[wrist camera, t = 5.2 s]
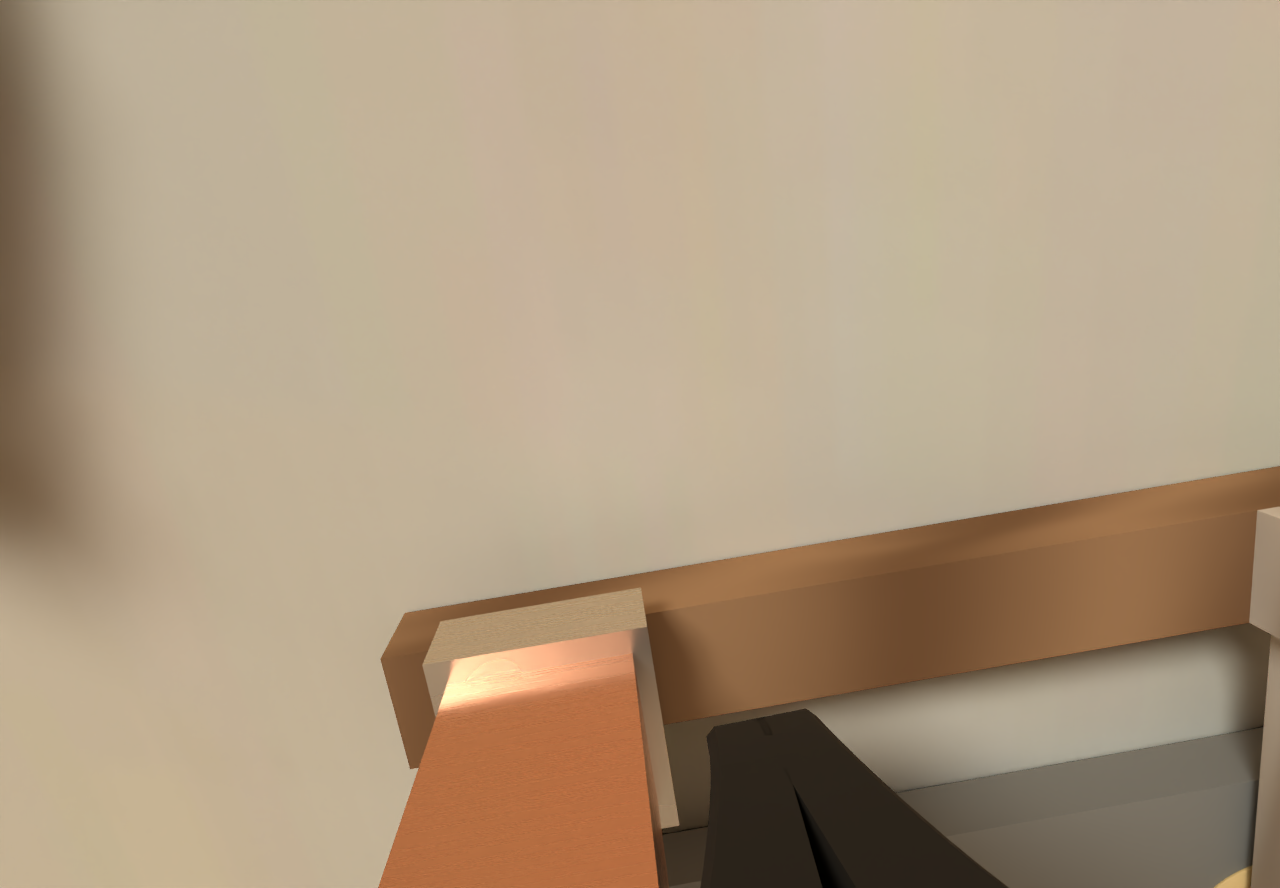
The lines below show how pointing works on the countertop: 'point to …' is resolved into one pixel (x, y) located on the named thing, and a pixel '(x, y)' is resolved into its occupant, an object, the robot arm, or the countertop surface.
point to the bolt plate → (1090, 820)
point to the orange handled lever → (540, 754)
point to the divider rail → (939, 608)
